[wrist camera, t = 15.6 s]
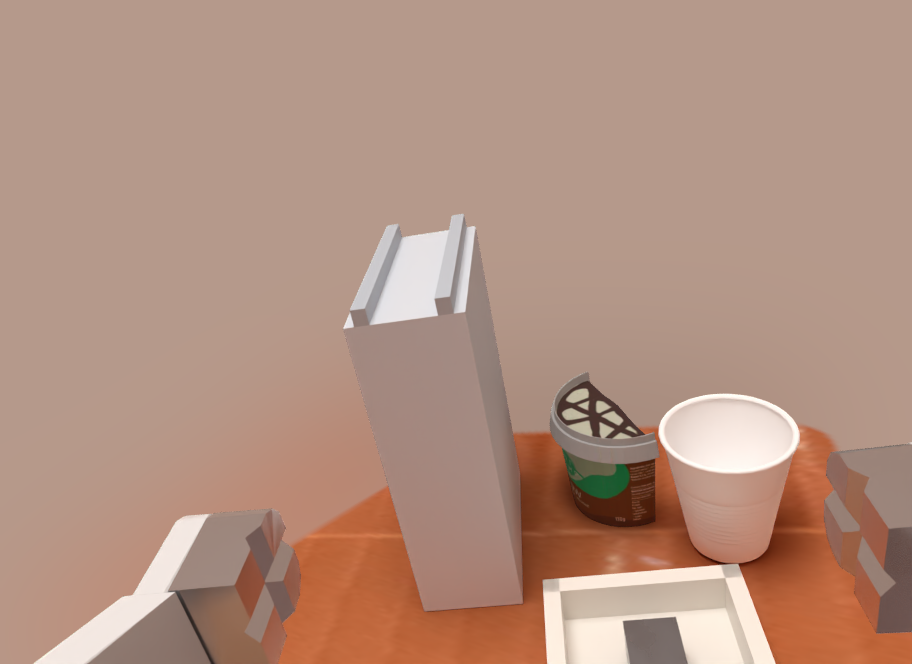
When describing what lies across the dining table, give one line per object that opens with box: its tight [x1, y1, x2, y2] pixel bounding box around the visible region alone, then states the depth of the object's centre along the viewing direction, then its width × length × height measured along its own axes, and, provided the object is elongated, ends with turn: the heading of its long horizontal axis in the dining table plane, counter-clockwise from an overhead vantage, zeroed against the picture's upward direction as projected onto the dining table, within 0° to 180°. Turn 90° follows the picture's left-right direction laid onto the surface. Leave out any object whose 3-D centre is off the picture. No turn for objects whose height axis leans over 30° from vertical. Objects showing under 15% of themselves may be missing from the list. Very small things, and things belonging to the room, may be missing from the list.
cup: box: [659, 394, 800, 564], centre depth 56 cm, size 10×10×11 cm
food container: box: [550, 372, 659, 527], centre depth 63 cm, size 12×6×10 cm, turn 18°
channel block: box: [343, 214, 523, 611], centre depth 58 cm, size 8×16×27 cm, turn 176°
